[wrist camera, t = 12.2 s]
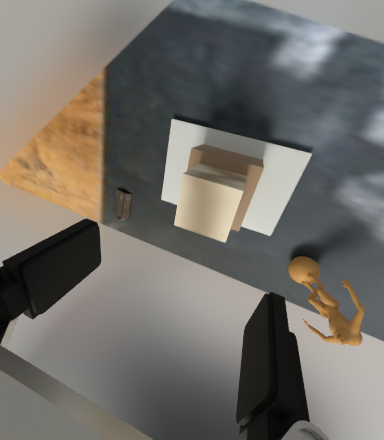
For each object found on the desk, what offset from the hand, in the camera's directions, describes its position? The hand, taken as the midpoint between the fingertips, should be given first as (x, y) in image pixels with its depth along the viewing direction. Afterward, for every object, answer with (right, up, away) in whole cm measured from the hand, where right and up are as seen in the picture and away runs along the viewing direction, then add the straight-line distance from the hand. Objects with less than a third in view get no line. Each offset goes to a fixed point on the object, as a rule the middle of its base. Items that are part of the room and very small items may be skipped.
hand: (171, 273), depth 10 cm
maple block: (+4, +6, +12) cm, 14 cm away
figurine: (+19, -4, +19) cm, 27 cm away
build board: (+6, +9, +17) cm, 20 cm away
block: (-12, +6, +26) cm, 29 cm away
